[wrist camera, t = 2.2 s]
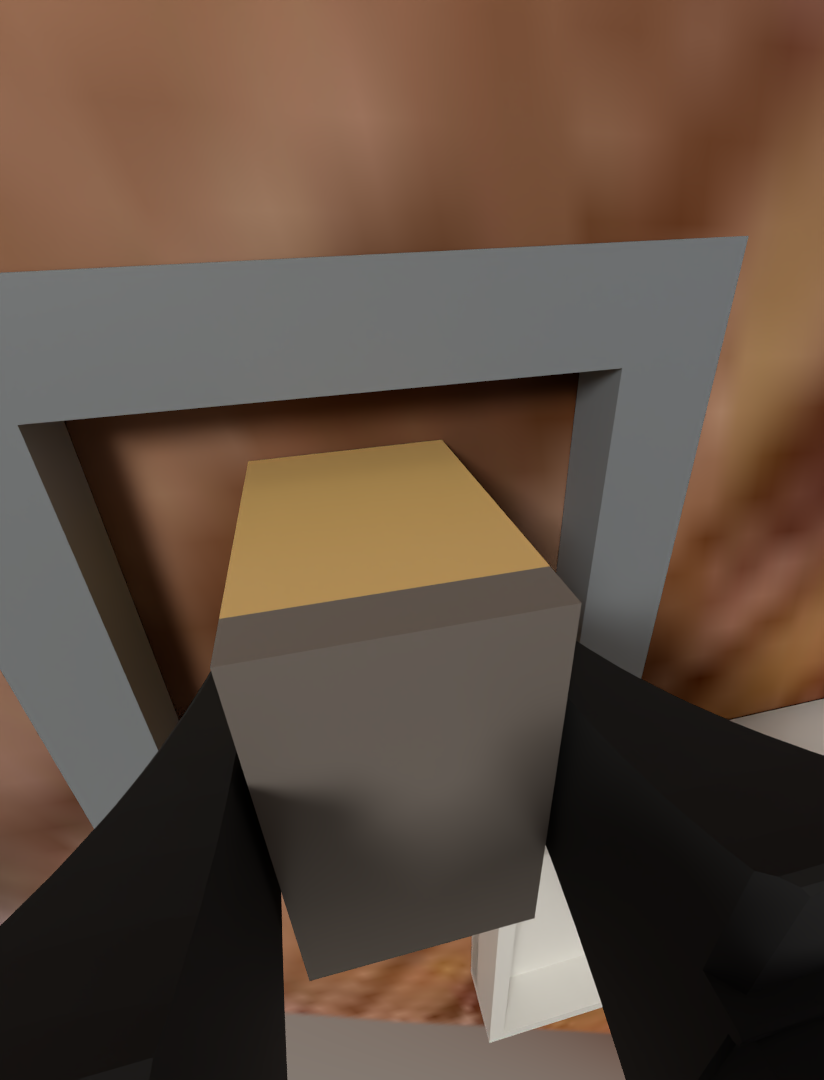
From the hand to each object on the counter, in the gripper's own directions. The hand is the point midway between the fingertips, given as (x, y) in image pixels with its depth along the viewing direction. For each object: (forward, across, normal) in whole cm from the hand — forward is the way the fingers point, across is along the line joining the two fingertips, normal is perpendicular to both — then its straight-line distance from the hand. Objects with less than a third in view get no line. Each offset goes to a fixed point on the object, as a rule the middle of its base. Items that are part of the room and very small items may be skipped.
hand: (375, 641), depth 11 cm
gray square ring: (+2, 0, 0) cm, 2 cm away
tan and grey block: (+2, 0, 0) cm, 2 cm away
